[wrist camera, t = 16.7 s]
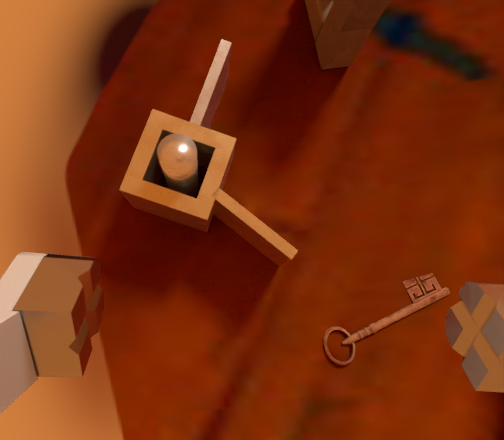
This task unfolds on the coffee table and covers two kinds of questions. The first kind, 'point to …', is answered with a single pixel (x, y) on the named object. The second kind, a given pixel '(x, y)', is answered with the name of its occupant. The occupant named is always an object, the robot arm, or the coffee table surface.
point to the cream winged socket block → (209, 156)
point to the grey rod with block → (342, 28)
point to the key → (395, 316)
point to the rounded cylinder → (179, 163)
